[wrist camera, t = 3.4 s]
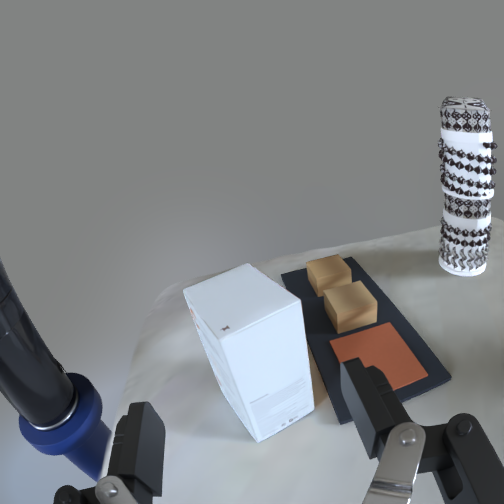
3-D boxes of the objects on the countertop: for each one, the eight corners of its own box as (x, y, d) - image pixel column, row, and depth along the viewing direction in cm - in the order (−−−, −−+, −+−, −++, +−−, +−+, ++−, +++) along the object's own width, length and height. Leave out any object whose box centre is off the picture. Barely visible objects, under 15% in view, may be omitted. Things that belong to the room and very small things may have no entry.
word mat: (340, 425, 24) (340, 421, 23) (281, 276, 49) (280, 273, 49) (450, 380, 24) (452, 375, 23) (351, 259, 49) (351, 255, 49)
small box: (316, 410, 26) (303, 298, 20) (257, 444, 23) (216, 342, 18) (272, 364, 32) (247, 260, 27) (220, 390, 30) (179, 288, 25)
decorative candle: (475, 246, 43) (476, 98, 32) (496, 274, 35) (505, 100, 25) (430, 250, 46) (424, 96, 35) (446, 280, 38) (446, 96, 27)
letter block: (318, 297, 41) (316, 278, 40) (308, 279, 46) (305, 261, 44) (352, 288, 41) (351, 269, 40) (339, 271, 46) (338, 253, 44)
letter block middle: (337, 334, 34) (336, 313, 33) (324, 309, 38) (323, 290, 37) (376, 322, 34) (377, 301, 33) (360, 299, 38) (360, 280, 37)
